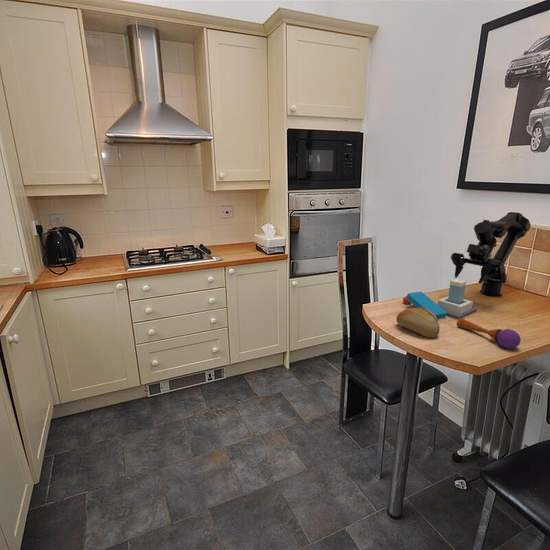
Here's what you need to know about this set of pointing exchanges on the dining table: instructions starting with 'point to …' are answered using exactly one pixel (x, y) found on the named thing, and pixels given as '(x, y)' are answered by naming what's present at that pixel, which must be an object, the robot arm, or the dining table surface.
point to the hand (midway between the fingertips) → (467, 280)
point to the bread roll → (419, 321)
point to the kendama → (494, 334)
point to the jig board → (457, 308)
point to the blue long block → (424, 303)
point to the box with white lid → (456, 291)
